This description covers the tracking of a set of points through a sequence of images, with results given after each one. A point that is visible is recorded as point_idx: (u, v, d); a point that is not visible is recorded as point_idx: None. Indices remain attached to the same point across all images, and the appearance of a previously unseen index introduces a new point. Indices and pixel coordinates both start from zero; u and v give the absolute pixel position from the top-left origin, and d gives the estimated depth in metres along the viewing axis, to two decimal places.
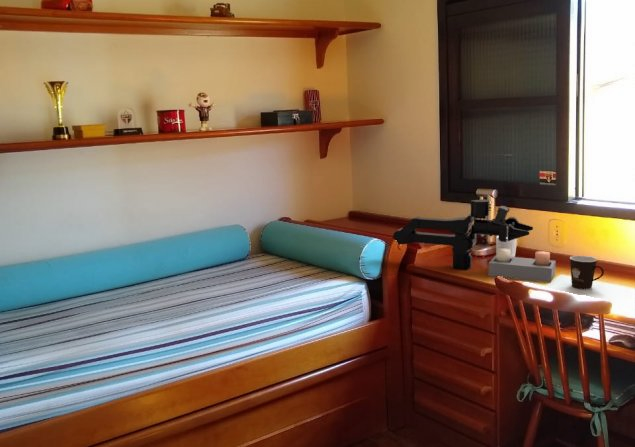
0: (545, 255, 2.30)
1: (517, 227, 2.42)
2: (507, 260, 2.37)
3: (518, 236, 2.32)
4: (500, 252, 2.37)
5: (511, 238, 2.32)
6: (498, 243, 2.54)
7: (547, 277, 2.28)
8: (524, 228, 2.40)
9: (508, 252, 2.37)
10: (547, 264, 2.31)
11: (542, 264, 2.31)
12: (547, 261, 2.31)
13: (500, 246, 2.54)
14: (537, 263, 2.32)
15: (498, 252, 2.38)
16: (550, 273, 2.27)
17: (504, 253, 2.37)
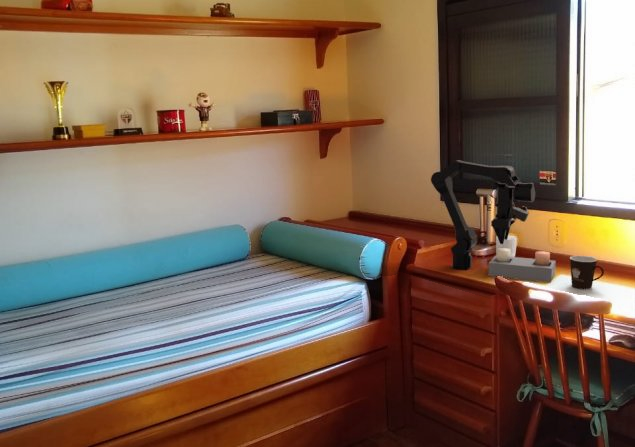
0: (545, 255, 2.30)
1: None
2: (507, 260, 2.37)
3: (497, 234, 2.34)
4: (500, 252, 2.37)
5: (495, 228, 2.33)
6: (498, 243, 2.54)
7: (547, 277, 2.28)
8: None
9: (508, 252, 2.37)
10: (547, 264, 2.31)
11: (542, 264, 2.31)
12: (547, 261, 2.31)
13: (500, 246, 2.54)
14: (537, 263, 2.32)
15: (498, 252, 2.38)
16: (550, 273, 2.27)
17: (504, 253, 2.37)
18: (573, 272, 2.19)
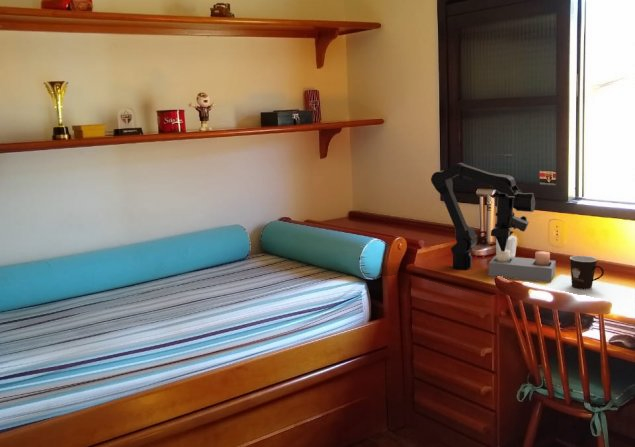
0: (545, 255, 2.30)
1: None
2: (507, 261, 2.37)
3: (499, 242, 2.38)
4: (500, 253, 2.37)
5: None
6: None
7: (547, 277, 2.28)
8: None
9: (508, 253, 2.37)
10: (547, 264, 2.31)
11: (542, 264, 2.31)
12: (547, 261, 2.31)
13: None
14: (537, 263, 2.32)
15: (498, 253, 2.38)
16: (550, 273, 2.27)
17: (504, 254, 2.37)
18: (573, 272, 2.19)
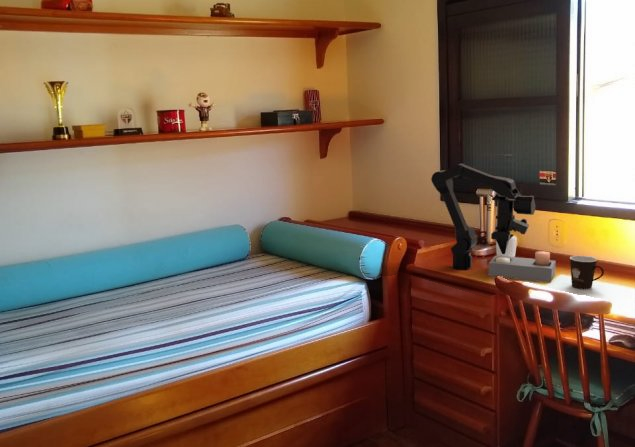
0: (545, 255, 2.30)
1: None
2: None
3: (499, 245, 2.38)
4: (500, 261, 2.38)
5: None
6: None
7: (547, 277, 2.28)
8: None
9: (508, 261, 2.38)
10: (547, 264, 2.31)
11: (542, 264, 2.31)
12: (547, 261, 2.31)
13: None
14: (537, 263, 2.32)
15: (498, 261, 2.38)
16: (550, 273, 2.27)
17: None
18: (573, 272, 2.19)
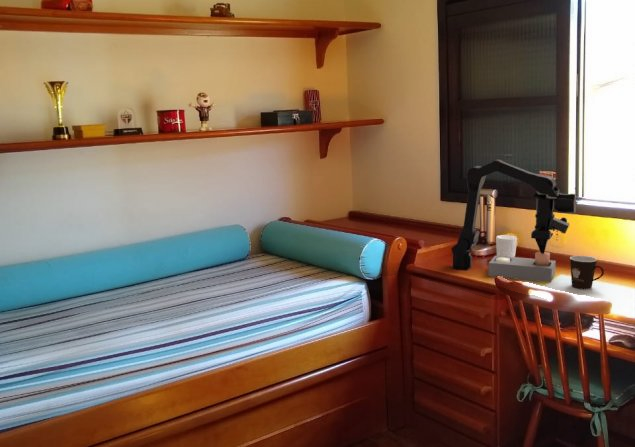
0: (545, 255, 2.30)
1: None
2: None
3: (538, 244, 2.31)
4: (500, 261, 2.38)
5: (536, 238, 2.31)
6: (498, 243, 2.54)
7: (547, 277, 2.28)
8: None
9: (508, 261, 2.38)
10: (547, 264, 2.31)
11: (542, 264, 2.31)
12: (547, 261, 2.31)
13: (500, 246, 2.54)
14: (537, 263, 2.32)
15: (498, 261, 2.38)
16: (550, 273, 2.27)
17: None
18: (573, 272, 2.19)
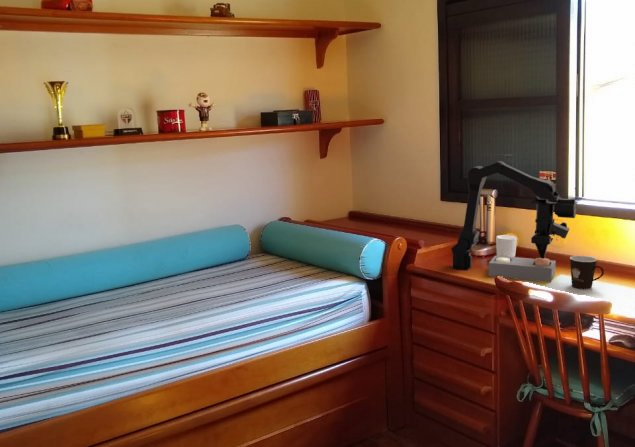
0: (545, 262, 2.31)
1: None
2: None
3: (538, 249, 2.32)
4: (500, 261, 2.38)
5: None
6: (498, 243, 2.54)
7: (547, 277, 2.28)
8: None
9: (508, 261, 2.38)
10: None
11: None
12: None
13: (500, 246, 2.54)
14: None
15: (498, 261, 2.38)
16: (550, 273, 2.27)
17: None
18: (573, 272, 2.19)
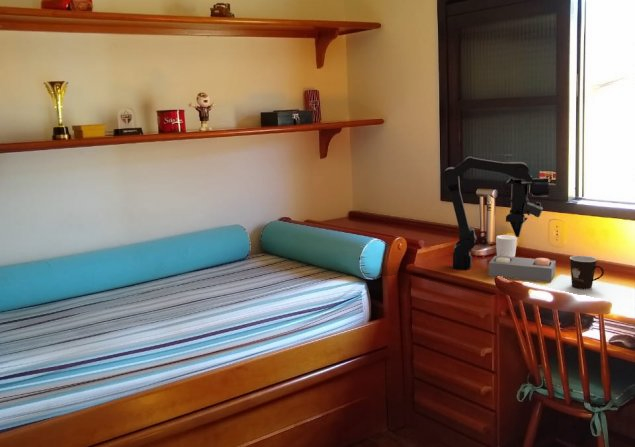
0: (545, 262, 2.31)
1: None
2: None
3: (513, 228, 2.40)
4: (500, 261, 2.38)
5: (511, 222, 2.39)
6: (498, 243, 2.54)
7: (547, 277, 2.28)
8: None
9: (508, 261, 2.38)
10: None
11: None
12: None
13: (500, 246, 2.54)
14: None
15: (498, 261, 2.38)
16: (550, 273, 2.27)
17: None
18: (573, 272, 2.19)
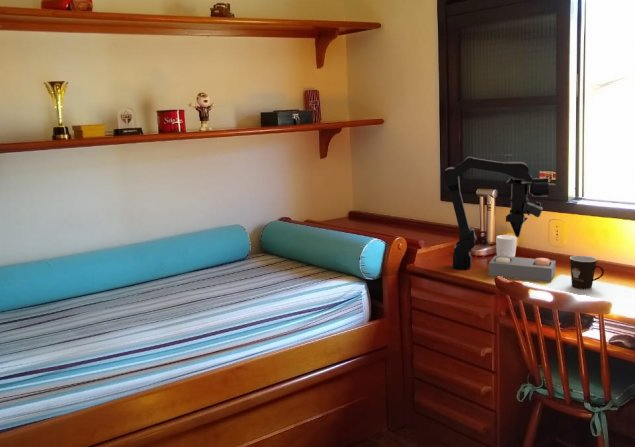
0: (545, 262, 2.31)
1: None
2: None
3: (513, 228, 2.40)
4: (500, 261, 2.38)
5: (511, 222, 2.39)
6: (498, 243, 2.54)
7: (547, 277, 2.28)
8: None
9: (508, 261, 2.38)
10: None
11: None
12: None
13: (500, 246, 2.54)
14: None
15: (498, 261, 2.38)
16: (550, 273, 2.27)
17: None
18: (573, 272, 2.19)
